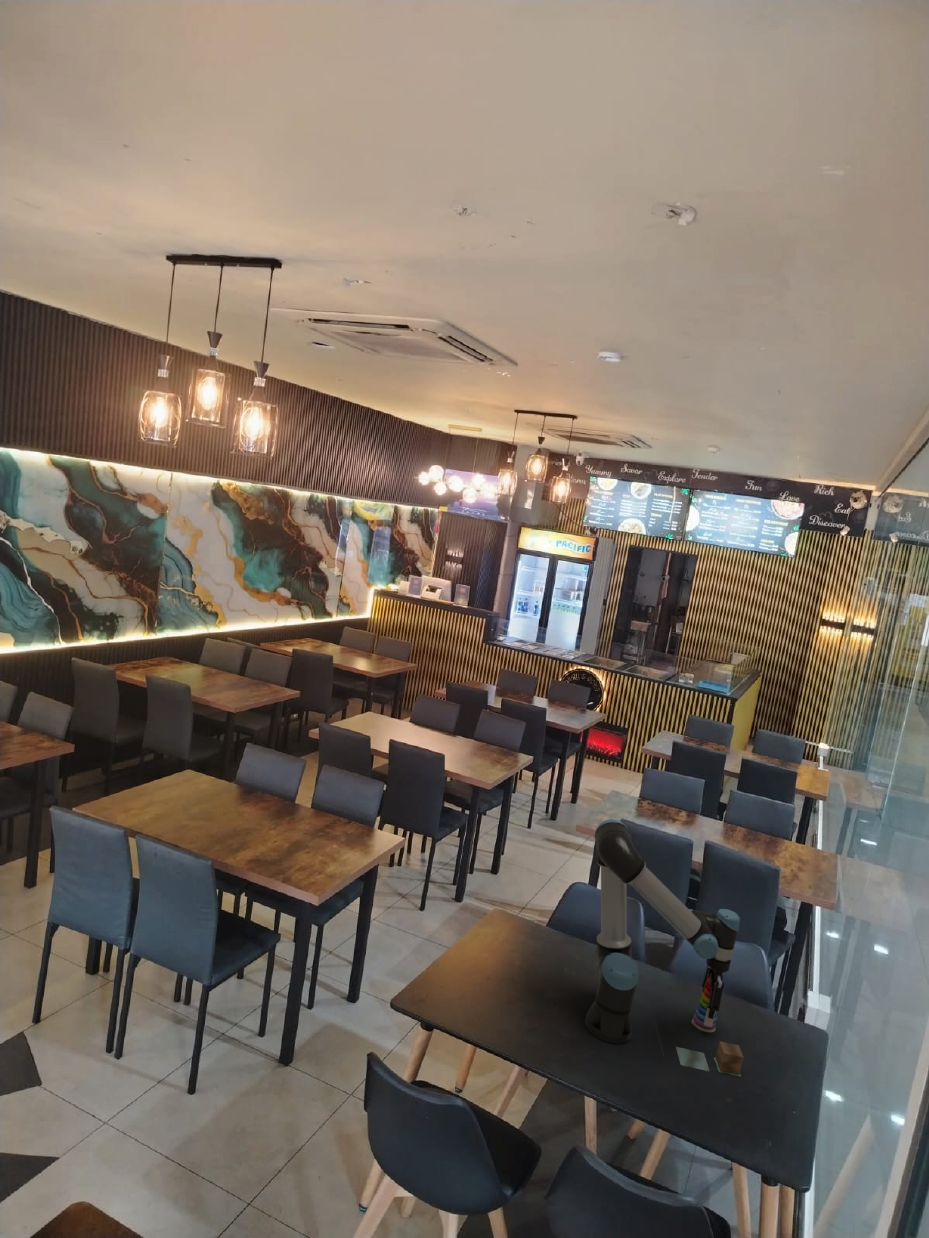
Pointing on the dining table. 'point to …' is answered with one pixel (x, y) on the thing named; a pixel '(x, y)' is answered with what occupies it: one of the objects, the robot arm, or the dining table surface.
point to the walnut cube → (729, 1058)
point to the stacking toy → (704, 1011)
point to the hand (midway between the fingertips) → (705, 1018)
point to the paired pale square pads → (695, 1060)
